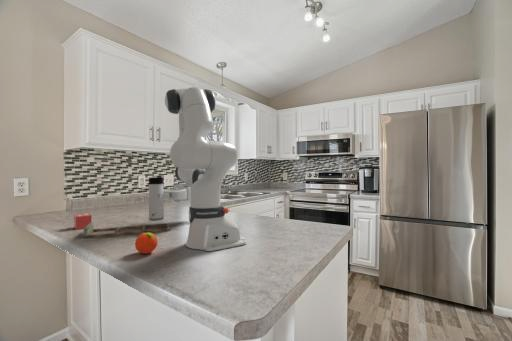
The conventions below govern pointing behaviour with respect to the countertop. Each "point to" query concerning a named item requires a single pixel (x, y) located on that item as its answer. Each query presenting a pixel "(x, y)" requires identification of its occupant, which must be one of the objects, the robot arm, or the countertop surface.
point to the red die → (81, 221)
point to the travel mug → (155, 199)
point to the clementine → (146, 242)
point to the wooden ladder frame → (90, 229)
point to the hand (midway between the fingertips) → (154, 195)
